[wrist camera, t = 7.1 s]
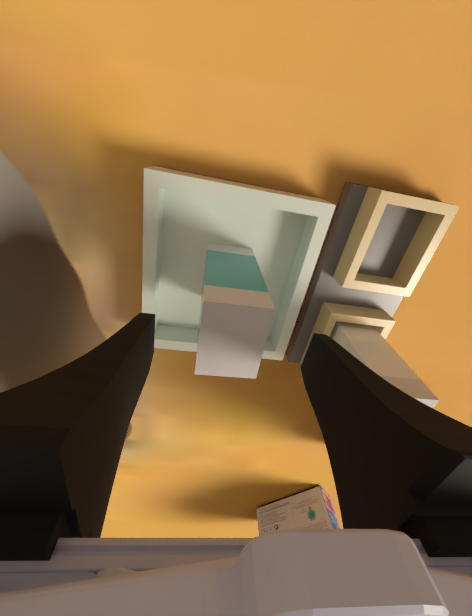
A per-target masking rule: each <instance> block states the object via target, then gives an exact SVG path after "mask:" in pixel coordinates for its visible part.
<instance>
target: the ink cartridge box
mask: <svg viewBox="0 0 472 616" xmlns="http://www.w3.org/2000/svg"><path fill="white" fill-rule="evenodd" d="M256 513H257V520H258V528H259V536H260V535H263V534H266V533H268V532H271V531H276V530H285V529H294V528H302V529H340V527H339V524H338V521H337V518H336V515H335V512H334V509H333V506H332V502H331V499H330V498H329V496H328V495H327V494H326V492H325V491H324V490H323V489H322V488H321V486H317V487H315V488H312V489H309V490H307V491H304V492H301V493H299V494H296V495H293V496H290V497H288V498H285V499H282V500H279V501H276V502H274V503H271V504H268V505H265V506H263V507H260V508H257V509H256Z"/></svg>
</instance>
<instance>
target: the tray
mask: <svg viewBox="0 0 472 616" xmlns="http://www.w3.org/2000/svg"><path fill="white" fill-rule="evenodd" d="M335 207H336V205H335V204H333V203H330V202H328V201H326V200H324V199H321V198H316V197H311V196H306V195H301V194H296V193H291V192H285V191H280V190H275V189H270V188H265V187H260V186H255V185H250V184H244V183H239V182H234V181H229V180H224V179H219V178H214V177H209V176H204V175H198V174H193V173H188V172H183V171H178V170H173V169H168V168H163V167H157V166H150V167H146V168H144V189H143V262H142V313H149V314H155V336H154V348H160V349H170V350H180V351H190V352H197V341H198V330H199V319H200V308H201V297H202V288H203V279H204V270H205V261H206V253H207V244H208V243H215V244H222V245H229V246H237V247H244V248H251V249H253V252H254V255H255V257H256V260H257V263H258V265H259V268H260V271H261V273H262V276H263V279H264V281H265V284H266V286H267V289H268V292H269V294H270V297H271V300H272V302H273V305H274V308H275V311H274V314H273V318H272V322H271V325H270V329H269V333H268V336H267V340H266V344H265V348H264V351H263V355H262V359H272V360H283V357H284V355H285V352H286V349H287V346H288V343H289V340H290V337H291V334H292V331H293V329H294V326H295V323H296V320H297V317H298V314H299V311H300V308H301V305H302V303H303V300H304V297H305V294H306V291H307V288H308V285H309V282H310V279H311V277H312V274H313V271H314V268H315V265H316V262H317V259H318V256H319V253H320V251H321V248H322V245H323V242H324V239H325V236H326V233H327V230H328V227H329V224H330V222H331V219H332V216H333V213H334V210H335Z"/></svg>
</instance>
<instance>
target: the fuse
mask: <svg viewBox="0 0 472 616" xmlns="http://www.w3.org/2000/svg"><path fill="white" fill-rule="evenodd" d="M330 338H332V339H333V340H335V341H336V342H337V343H338V344H340V345H341V346H342V347H343V348H345V349H346V350H347V351H348V352H349V353H351V354H352V355H353V356H354V357H356V358H357V359H358V360H359V361H361V362H362V363H363V364H364V365H366V366H367V367H368V368H370V369H371V370H372V371H374V372H375V373H376V374H378V375H379V376H381V377H382V378H383V379H385V380H386V381H388V382H389V383H391V384H392V385H394V386H395V387H397V388H398V389H400V390H402V391H403V392H405V393H406V394H408V395H410V396H411V397H413V398H415V399H416V400H418V401H420V402H422V403H424V404H425V405H427V406H429V407H431V408H434V406H435V405H436V404H437V402H438V401H439V399H438V398H437V397H436V396H435V395H434V394H433V393H432V392H431V390H430V389H429V388H428V387H427V386H426V385H425V384H424V383H423V382H422V380H421V379H420V378H419V377H418V376H417V375H416V374H415V373H414V371H413V370H412V369H411V368H410V367H409V366H408V365H407V364H406V363H405V361H404V360H403V359H402V358H401V357H400V356H399V355H398V354H397V353H396V351H395V350H394V349H393V348H392V347H391V346H390V345H389V344H388V342H387V341H386V340H385V339H384V338H383V337H382V336H381V335H380V334H379V332H378V331H377V330H376V329H375V328H374V327H373V326H372V325H364V324H356V323H347V322H339V321H336V323H335V325H334V328H333V330H332V332H331V335H330Z"/></svg>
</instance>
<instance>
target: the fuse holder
mask: <svg viewBox="0 0 472 616" xmlns="http://www.w3.org/2000/svg"><path fill="white" fill-rule="evenodd" d="M459 207H460V206H456V205H453V204H448V203H444V202H439V201H435V200H430V199H425V198H420V197H415V196H411V195H406V194H401V193H396V192H391V191H387V190H382V189H377V188H372V187H367V186H363V185H358V184H353V183H348V182H346V183H345V186H344V189H343V192H342V195H341V198H340V201H339V204H338V206H337V209H336V212H335V215H334V218H333V221H332V224H331V226H330V229H329V232H328V235H327V238H326V241H325V244H324V247H323V249H322V252H321V255H320V258H319V261H318V264H317V267H316V269H315V272H314V275H313V278H312V281H311V284H310V287H309V290H308V292H307V295H306V298H305V301H304V304H303V307H302V310H301V312H300V315H299V318H298V321H297V324H296V327H295V330H294V333H293V335H292V338H291V341H290V344H289V347H288V350H287V353H286V355H287V358H288V361H289V362H298V363H300V364H302V362H303V359H304V357H305V354H306V352H307V349H308V347H309V344H310V341H311V339H312V336H313V334H314V333H317V334H326V335H328V336H329V337H330V335H331V332H332V330H333V328H334V325H335V323H336V321H339V322H347V323H356V324H364V325H372V326H373V327H374V328H375V329H376V330H377V331H378V332H379V334H380V335H381V336H382V337H383V338H384V339H386V338H387V336H388V334H389V332H390V331H391V329H392V327H393V325H394V323H395V322H396V321H395V320H394V319H393V318H392V317H393V315H394V313H395V311H396V309H397V308H398V306H399V304H400V302H401V300H402V299H403V297H404V296H406V297H410V295H411V293H412V291H413V289H414V288H415V286H416V284H417V282H418V281H419V279H420V277H421V275H422V273H423V272H424V270H425V268H426V266H427V264H428V263H429V261H430V259H431V257H432V256H433V254H434V252H435V250H436V248H437V247H438V245H439V243H440V241H441V239H442V238H443V236H444V234H445V232H446V231H447V229H448V227H449V225H450V223H451V222H452V220H453V218H454V216H455V214H456V213H457V211H458V209H459Z"/></svg>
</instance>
